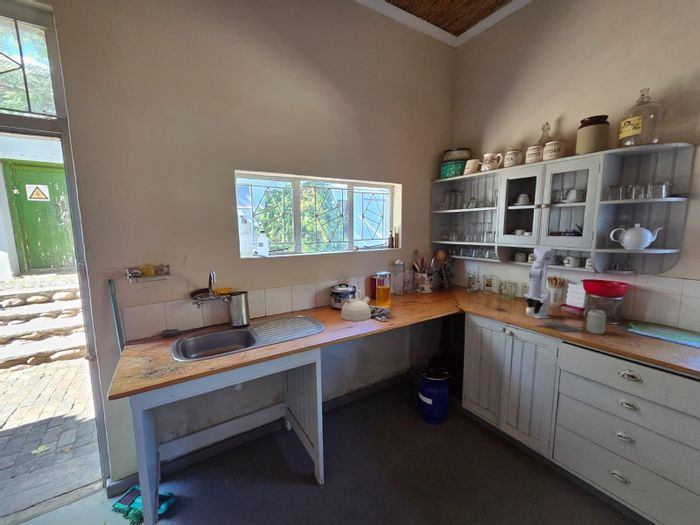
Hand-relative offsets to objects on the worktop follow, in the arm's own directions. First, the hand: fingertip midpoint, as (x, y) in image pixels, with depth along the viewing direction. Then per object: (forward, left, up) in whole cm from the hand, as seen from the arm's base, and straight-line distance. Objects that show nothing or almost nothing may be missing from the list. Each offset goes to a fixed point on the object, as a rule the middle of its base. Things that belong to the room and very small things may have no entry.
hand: (533, 312), depth 165 cm
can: (+15, +24, -8) cm, 29 cm away
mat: (+5, +13, -8) cm, 16 cm away
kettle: (-34, -100, -8) cm, 106 cm away
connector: (0, 0, -2) cm, 2 cm away
